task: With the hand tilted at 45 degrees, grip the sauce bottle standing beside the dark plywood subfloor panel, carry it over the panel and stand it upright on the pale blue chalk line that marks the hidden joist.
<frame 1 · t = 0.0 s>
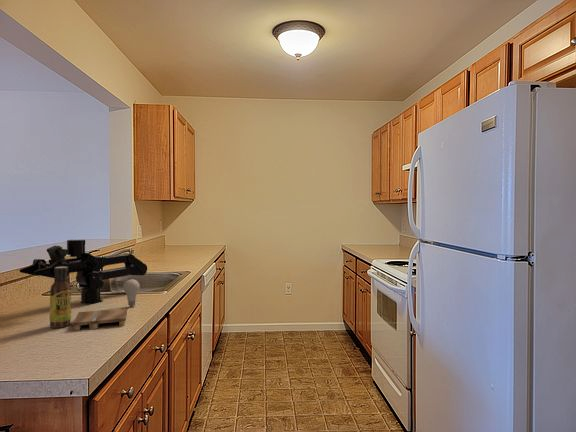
hand: (26, 271, 143), 17 cm above the worktop, tool horizontal, fingers open, 9 cm apart
sauce bottle: (60, 326, 133), on the worktop
subfloor panel: (101, 322, 138), on the worktop
lightbulb: (131, 307, 159), on the worktop
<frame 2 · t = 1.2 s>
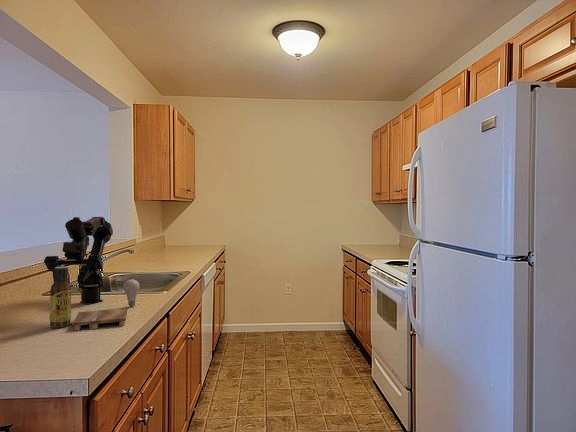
hand: (68, 281, 141), 14 cm above the worktop, tool tilted 45°, fingers open, 9 cm apart
nothing on the worktop moved.
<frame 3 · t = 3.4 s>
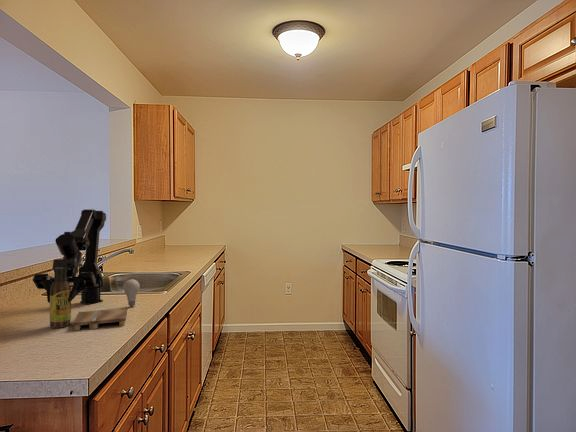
hand: (59, 301, 132), 9 cm above the worktop, tool tilted 45°, fingers closed on sauce bottle, 6 cm apart
sauce bottle: (60, 326, 133), on the worktop, touching gripper
everything else where it was.
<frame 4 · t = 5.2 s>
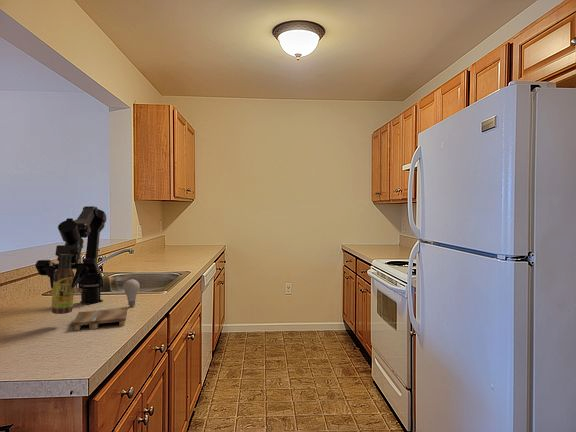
hand: (62, 287, 132), 13 cm above the worktop, tool tilted 45°, fingers closed on sauce bottle, 6 cm apart
sauce bottle: (62, 313, 133), point 4 cm above the worktop, touching gripper
everything else where it was.
when the fingers open (12 cm above the worktop, at t = 6.8 s): sauce bottle stays where it is, resting on subfloor panel.
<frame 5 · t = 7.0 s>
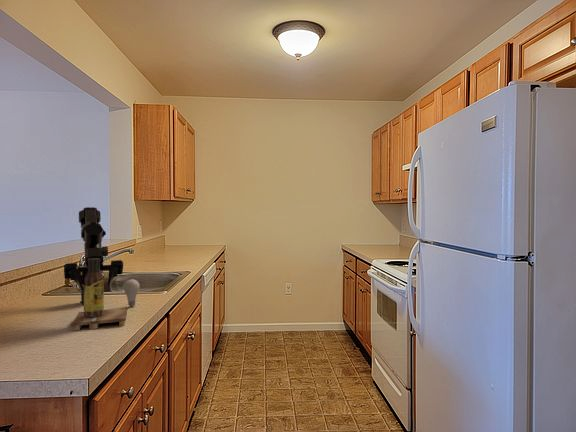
hand: (95, 288, 135), 12 cm above the worktop, tool tilted 45°, fingers open, 8 cm apart
sauce bottle: (94, 316, 137), point 2 cm above the worktop, touching subfloor panel
everything else where it was.
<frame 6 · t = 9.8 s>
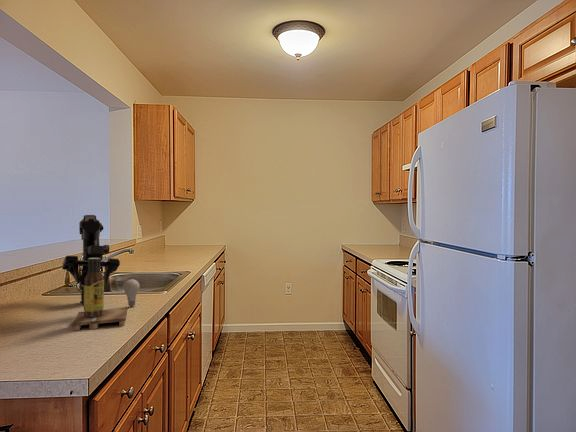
hand: (92, 283, 144), 12 cm above the worktop, tool tilted 40°, fingers open, 9 cm apart
nothing on the worktop moved.
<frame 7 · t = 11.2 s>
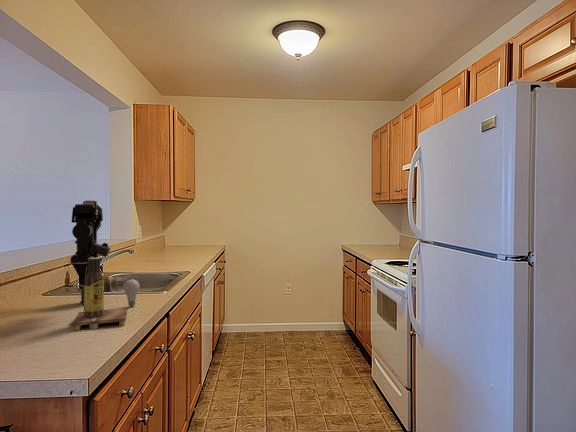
hand: (85, 279, 148), 13 cm above the worktop, tool pointing down, fingers open, 9 cm apart
nothing on the worktop moved.
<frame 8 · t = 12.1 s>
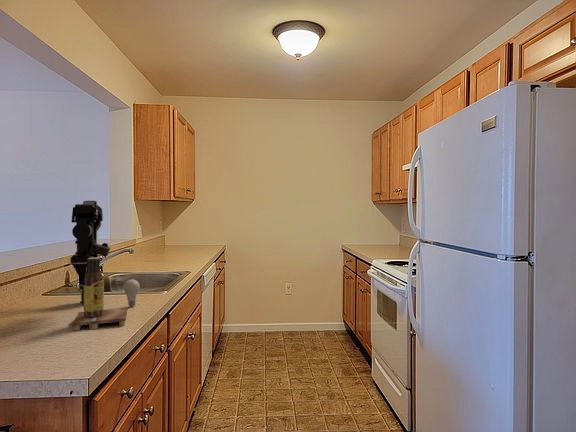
hand: (85, 279, 148), 13 cm above the worktop, tool pointing down, fingers open, 9 cm apart
nothing on the worktop moved.
at the end: sauce bottle 0.5 cm from the target spot, point 2.3 cm above the worktop; sauce bottle tilted 0°; the gripper is holding nothing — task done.
